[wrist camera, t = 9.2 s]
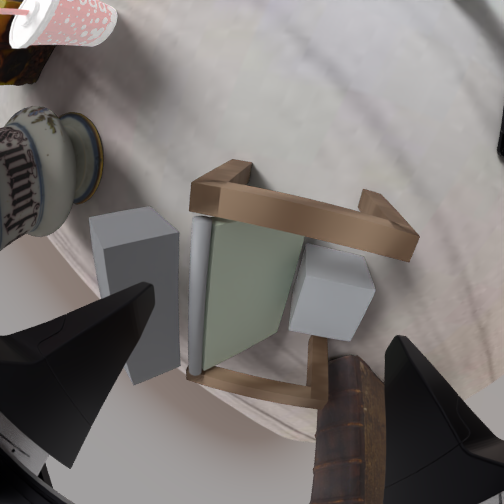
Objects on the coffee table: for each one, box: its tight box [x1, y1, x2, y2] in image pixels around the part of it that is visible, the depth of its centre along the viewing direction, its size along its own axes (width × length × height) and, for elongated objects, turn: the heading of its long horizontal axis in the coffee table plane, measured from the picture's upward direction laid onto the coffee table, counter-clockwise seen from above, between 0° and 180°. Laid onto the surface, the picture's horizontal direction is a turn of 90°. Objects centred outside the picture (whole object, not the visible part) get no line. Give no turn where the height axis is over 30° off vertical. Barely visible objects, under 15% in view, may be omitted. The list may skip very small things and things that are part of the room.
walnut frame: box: [186, 159, 420, 410], centre depth 19 cm, size 12×16×8 cm
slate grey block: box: [288, 243, 376, 342], centre depth 20 cm, size 5×5×5 cm
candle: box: [0, 0, 55, 86], centre depth 10 cm, size 10×10×10 cm
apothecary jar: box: [0, 106, 103, 251], centre depth 14 cm, size 12×12×18 cm
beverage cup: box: [0, 0, 118, 49], centre depth 9 cm, size 6×6×14 cm
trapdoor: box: [89, 206, 305, 385], centre depth 19 cm, size 14×12×5 cm
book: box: [309, 355, 386, 504], centre depth 18 cm, size 17×7×25 cm, turn 38°
